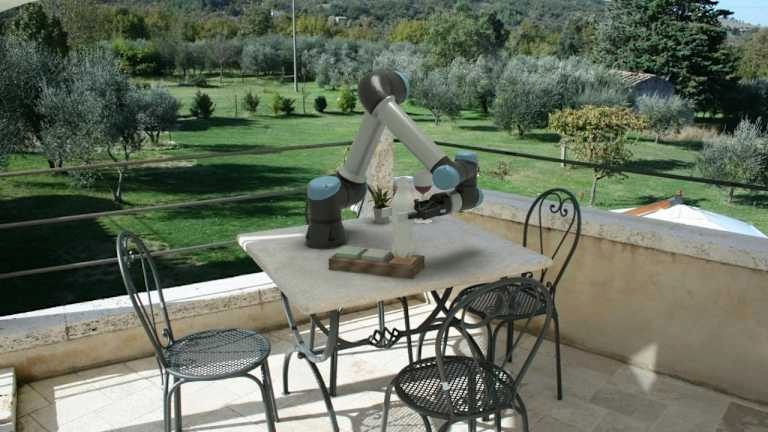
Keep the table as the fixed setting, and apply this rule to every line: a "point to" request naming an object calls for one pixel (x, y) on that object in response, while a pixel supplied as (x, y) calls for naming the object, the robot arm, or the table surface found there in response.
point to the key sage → (350, 252)
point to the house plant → (380, 204)
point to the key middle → (376, 255)
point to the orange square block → (403, 260)
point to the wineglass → (422, 186)
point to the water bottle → (404, 229)
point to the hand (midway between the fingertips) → (390, 215)
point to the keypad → (378, 266)
